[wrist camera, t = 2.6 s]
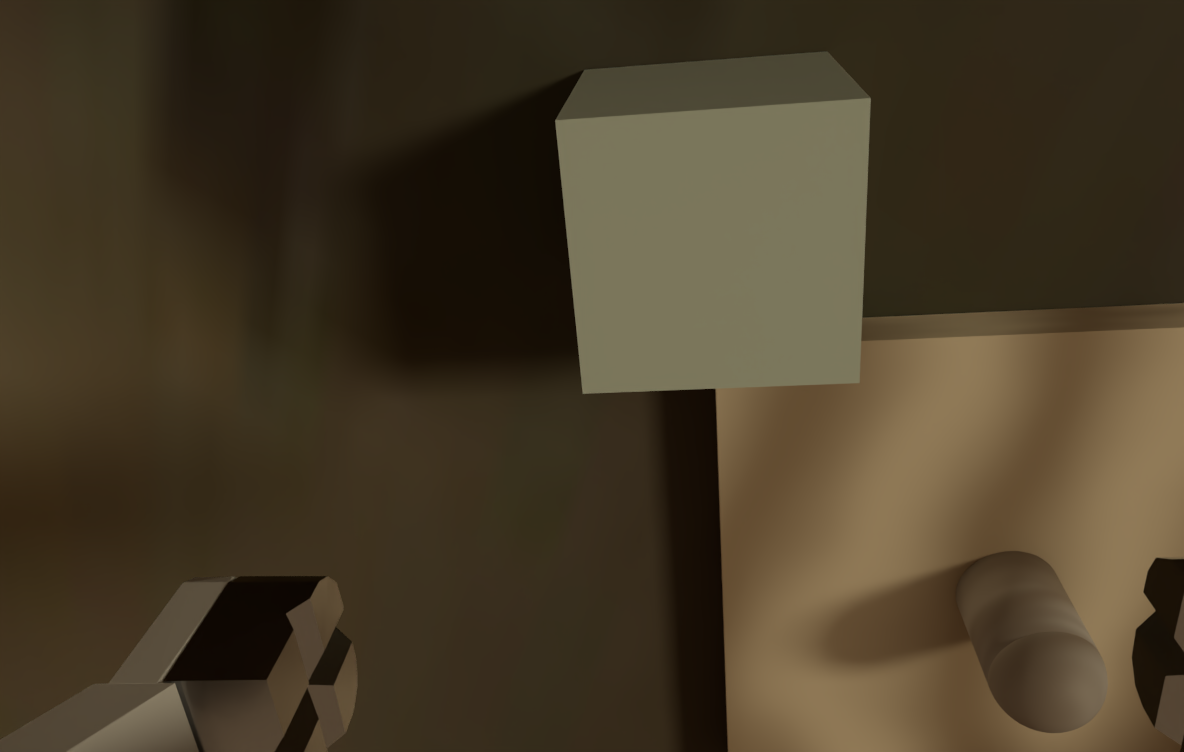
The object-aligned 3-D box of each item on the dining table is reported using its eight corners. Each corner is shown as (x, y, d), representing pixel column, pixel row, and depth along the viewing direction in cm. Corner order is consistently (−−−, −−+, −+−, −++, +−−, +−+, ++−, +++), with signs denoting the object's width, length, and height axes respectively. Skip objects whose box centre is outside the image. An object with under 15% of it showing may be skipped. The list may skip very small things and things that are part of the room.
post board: (1350, 295, 24) (1546, 411, 19) (1224, 754, 31) (1340, 938, 26) (713, 324, 26) (720, 438, 21) (727, 752, 33) (736, 923, 28)
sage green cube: (826, 51, 23) (870, 98, 18) (822, 281, 25) (859, 383, 20) (584, 69, 24) (555, 120, 18) (603, 291, 26) (583, 393, 21)
